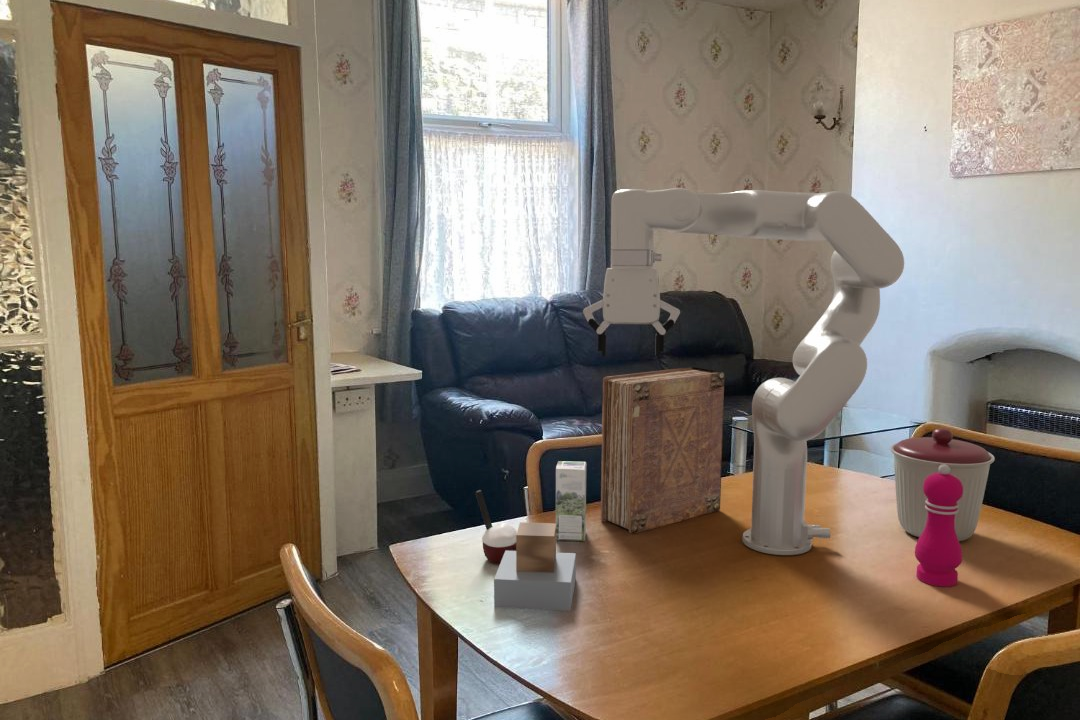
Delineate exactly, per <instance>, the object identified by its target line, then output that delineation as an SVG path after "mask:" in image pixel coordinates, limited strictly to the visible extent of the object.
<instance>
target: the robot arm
mask: <svg viewBox="0 0 1080 720" xmlns="http://www.w3.org/2000/svg"><path fill="white" fill-rule="evenodd" d="M610 205H611V207H610V208H611V209H610V211H611V213H610V232H611V233H610V267H607V268H606V271H605V277H604V284H603V294H602V295H603V296H602V297H603V298H602V299H601V300H599V301H597V302H594V303H593V304H591V305H588V306H587V307H585V308H584V309H583V310H582V314H583V316H584V317H585V319H586V321H587V323H588V324H589V326H590V327H591V328H592V329H593V330H594V331H595V332H596V333H597V337H598V338H597V351H598V352H601V357H605V356H607V333H606V329H608V327H609V326H610V325H611V324H612V325H652V326H653V327H654V328H655V330H656V333H655V337H654V338H655V340H654V342H655V344H654V345H655V346H654V348H655V349H654V352H655V353H654V355H655V357H656V358H660V356H661V355H660V354H661V353H663V352H664V349H665V347H664V346H665V345H664V343H665V334H666V333H667V332H668V331H669V330H670V329H671V328H672V327H673V326H674V325H675V324H676V321H677V320H678V318H679V316H680V314H681V311H680V309H679V308H677V307H675V306H673V305H671V304H669V303H668V302H665V301H664V300H662V299H661V293H660V279H659V272H658V268H657V267H654V264H655V263H658V262H662V253H657V252H655V251H654V238H655V237H654V235H655V233H654V232H655V230H658V231H661V232H664V233H673V234H674V233H676V234H677V233H679V234H701V235H714V236H715V235H716V236H726V237H733V238H739V239H758V240H759V239H762V240H763V239H764V240H780V241H781V240H785V241H799V242H800V241H803V242H828V244H829V245H830V246H831V247H832V249H833V250H834V251H833V252H832V255H831V258H830V270H831V271H830V272H831V275H832V279H833V283H834V285H833V286H834V290H833V297H832V299H831V302H830V303H829V305H828V307H827V308H826V310H825V311H824V312H823V314H822V315H821V317H820V318H819V319H818V320H817V321H816V323H815V324H814V325H813V327H811V329H810V330H808V333H807V334H806V335H805V336H804V338H803V339H802V340H801V341H800V342H799V343H798V345H797V347H796V348H795V350H794V352H793V354H792V365H793V369H794V370H795V372H796V374H797V375H799V376H798V377H797V379H796V380H795V381H794V380H792V379H789V378H786V377H773V378H770V379H767V380H766V381H764V382H762V383H761V384H760V385H759V386H758V387H757V389H756V390H755V391H754V392H755V393H754V394H753V398H752V402H751V414H752V415H751V416H752V426H753V443H754V444H753V470H752V471H753V472H752V495H751V496H752V498H751V521H750V522H751V528H748V529H747V530H745V531H744V532H743V533H742V543H743V544H744V545H745V546H746V547H748V548H749V549H752V550H753V551H757V552H760V553H765V554H768V555H774V556H796V555H802V554H805V553H807V552H809V551H810V550H812V542H813V539H814V538H819V539H829V540H830V538H831V529H830V528H829V527H821V525H820V524H808V523H807V522H806V521H805V511H806V510H805V508H806V504H805V503H806V489H807V488H806V486H807V467H808V445H807V441H810V440H811V439H814V438H816V437H818V436H819V435H820V434H821V433H823V432H824V431H825V430H826V429H827V428H828V426H829V425H830V424H831V423H832V422H833V421H834V419H835V418H836V417H837V415H838V414H839V413H840V411H842V410H843V408H844V406H845V405H846V404H847V403H848V402H849V401H850V399H851V398H852V397H853V395H854V394H856V392H857V390H859V387H860V386H861V384H862V383H863V381H864V379H865V376H866V374H867V369H868V358H867V355H866V353H865V350H864V349H863V348H862V347H861V345H862V343H863V342H864V340H865V339H866V337H867V336H868V334H869V333H870V332H871V330H872V329H873V327H874V326H875V324H876V323H877V319H878V317H879V313H880V308H881V291H880V289H885V288H887V287H889V286H891V285H893V284H895V283H896V282H897V281H898V280H899V279H900V278H901V276H902V274H903V273H904V268H905V257H904V254H903V252H902V250H901V248H900V246H899V245H898V244H897V242H896V241H895V240H894V238H892V237H891V235H890V234H889V233H888V232H887V230H885V229H884V227H882V226H881V225H880V223H879V222H878V221H877V220H876V219H875V218H874V217H873V215H871V213H870V212H869V211H868V210H867V209H866V208H865V207H864V206H863V205H862V204H861V203H860V202H859V201H858V200H857V199H856V198H854V197H853V196H852V195H850V194H849V193H847V192H844V191H839V190H835V191H834V190H832V191H827V192H826V191H825V192H801V191H795V192H793V191H779V190H777V191H775V190H764V189H763V190H762V189H747V190H746V189H745V190H738V191H734V192H732V191H731V192H718V193H706V192H705V193H703V192H702V193H699V192H698V193H697V192H694V191H692V190H690V189H688V188H684V187H673V188H667V189H665V188H664V189H658V190H647V189H640V188H638V189H637V188H632V189H631V188H627V189H619V190H616V191H614V192H613V194H612V195H611V204H610ZM600 309H602V317H603V318H602V319H603V321H602V322H601V323H599V322H598V321H597V320H596V319H595V318H594V315H593V313H594V312H596V311H598V310H600ZM661 309H662V310H664V311H665V312H668V313H669V314H670V316H669V317H668V319H667V320H666V321H665V322H664V323H663V324H662V323H661V322H660V321H659V320H660V315H661V314H660V313H661Z"/></svg>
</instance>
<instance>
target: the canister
mask: <svg viewBox="0 0 1080 720" xmlns="http://www.w3.org/2000/svg"><path fill="white" fill-rule="evenodd" d="M953 437H954V435H953V432H952V431H951V430H949V429H948V428H944V427H939V428H936V429H934V430H933V431H932V433H931V437H927V436H925V437H924V436H922V437H920V436H919V437H911V438H910V437H909V438H905V439H902V440H900V441H898V442H896V443H894V444H892V445H891V446H890V448H889V449H890V452H891V453H892V454H893V465H894V466H893V468H894V481H895V482H894V487H895V498H896V499H895V500H896V509H897V510H896V512H897V517H898V522H899V524H900V526H901V528H902V529H903V530H904V531H905V532H906V533H908V534H910V535H912V536H914V537H917V538H918V539H919V538H920V536H921V534H922V533H923V531H924V529H925V526H926V523H927V517H928V514H927V510H926V509H925V506H926V503H925V501H926V500H927V499H928V498H927V497H926V495H925V494H924V491H923V484H924V481H925V480H926V478H927V477H928V476H930V475H931V474H934V473H939V470H938V468H939V466H940V465H943V464H945V465H948V466H949V468H950V473H949V474H951V475H953V476H955V477H957V478H958V479H959V480H960V481H961V483H962V486H963V495H962V497H961V498H960V499H959V500H958V501H957V503H958V505H959V507H958V513H956V514H955V519H954V524H955V532H956V535H957V538H958V541H959V542H963V541H967V540H968V539H969V538H971V537H972V536H973V535H974V533H975V531H976V529H977V526H978V523H979V519H980V515H981V510H982V505H983V502H984V501H983V500H984V497H985V491H986V486H987V482H988V478H989V471H990V467H991V464H992V463H994V461H996V460H995V459H996V458H995V456H994V455H993V454H992V453H991V452H989V451H987V450H986V449H985V448H983V447H982V446H979V445H977V444H974V443H972V442H968V441H964V440H959V439H953Z"/></svg>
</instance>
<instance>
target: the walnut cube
mask: <svg viewBox="0 0 1080 720" xmlns="http://www.w3.org/2000/svg"><path fill="white" fill-rule="evenodd" d="M516 531H517V534H516V571H525V572H554V568H555V561H556V553H557V540H556V522H555V523H551V522H519V525H518V528H517V530H516Z"/></svg>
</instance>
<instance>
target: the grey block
mask: <svg viewBox="0 0 1080 720" xmlns="http://www.w3.org/2000/svg"><path fill="white" fill-rule="evenodd" d="M498 565H499V566H498V567H497V570H496V573H495V576H494V578H493V601H494V603H493V605H494V606H493V607H494V608H502V609H503V608H504V609H505V608H506V609H524V610H525V609H526V610H544V611H545V610H546V611H549V610H550V611H570V612H571V611H572V605H573V599H574V593H575V592H574V591H575V587H576V586H575V585H576V581H577V580H576V577H577V576H576V575H577V573H576V572H577V554H576V552H575V553H574V552H556V561H555V568H554V572H525V571H516V551H505V553H504V556H503V558H502V561H501V563H500V564H498Z"/></svg>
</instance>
